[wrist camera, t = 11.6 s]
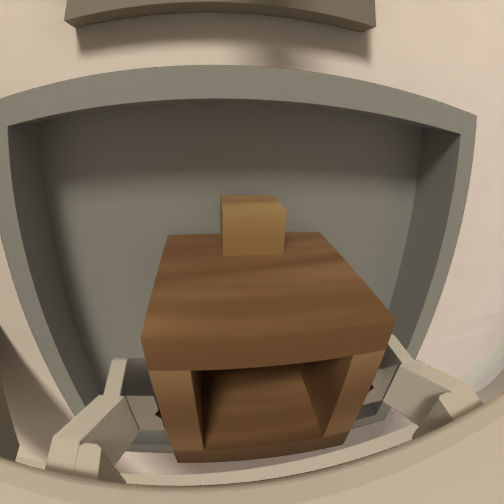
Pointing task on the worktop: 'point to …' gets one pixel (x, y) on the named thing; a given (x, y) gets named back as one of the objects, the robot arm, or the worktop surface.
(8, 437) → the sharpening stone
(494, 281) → the worktop surface
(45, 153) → the tray
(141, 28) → the worktop surface
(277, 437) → the open wooden cubby
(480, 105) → the worktop surface
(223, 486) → the robot arm
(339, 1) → the peg stand
